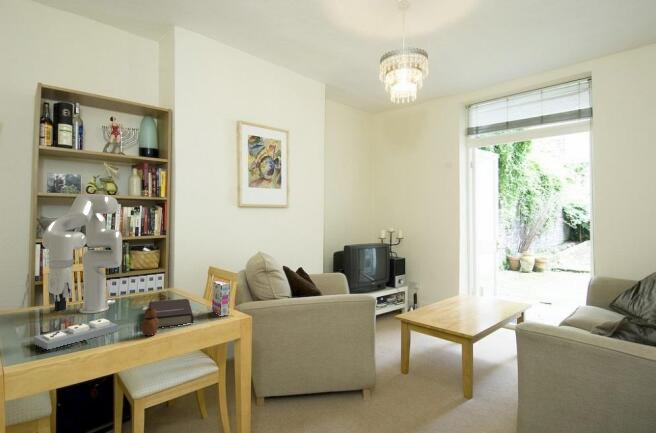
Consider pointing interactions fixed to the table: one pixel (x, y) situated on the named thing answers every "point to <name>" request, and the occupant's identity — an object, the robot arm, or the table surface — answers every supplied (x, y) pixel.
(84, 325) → the two dot tile
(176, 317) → the book
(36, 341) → the tile board
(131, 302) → the table surface
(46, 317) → the table surface
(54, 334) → the three dot tile
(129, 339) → the table surface
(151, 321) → the wooden figurine
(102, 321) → the one dot tile
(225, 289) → the candy bar box
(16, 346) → the table surface
